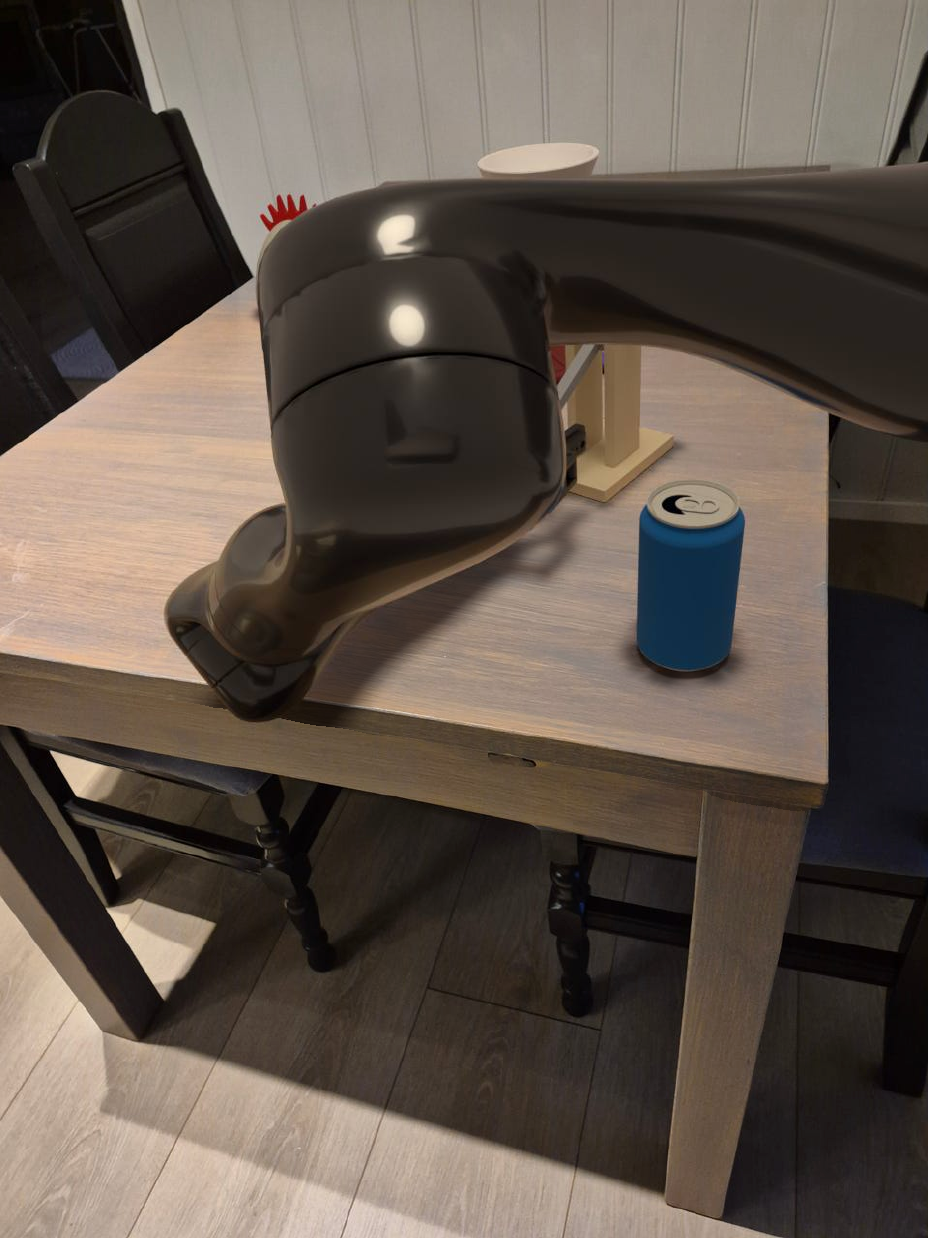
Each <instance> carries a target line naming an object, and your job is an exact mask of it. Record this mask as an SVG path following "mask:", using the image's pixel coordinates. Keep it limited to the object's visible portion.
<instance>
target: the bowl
mask: <svg viewBox="0 0 928 1238" xmlns="http://www.w3.org/2000/svg"><path fill="white" fill-rule="evenodd" d="M599 156H600V151H599V149H598V148H597V147H595V146H593V145H590V144H586V143H579V142H545V143H544V142H543V143H534V144H527V145H520V146H515V147H514V146H513V147H509V148H506V149H502V150H498V151H494V152H491V153H489V154H488V155H485V156H483V157H481V158H480V159H479V160H478V162H477V165H476V166H477V168H478V170H479V172H480V174H481V177H482V179H589V177H590V176H592V174H593V172H594V169H595V166H596V163H597V161H598V158H599Z"/></svg>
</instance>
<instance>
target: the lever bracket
mask: <svg viewBox="0 0 928 1238" xmlns="http://www.w3.org/2000/svg"><path fill="white" fill-rule="evenodd" d="M582 346H583V344H578V345H565V357H566V371H567V369H568V368H569V366H570V364H571V363H572V361H573V360H574V358H575V357H576V355H577V353H578V352H579V350H580V349H581V347H582ZM602 352H604V370H602ZM603 374H604V375H603ZM603 377H604V378H603ZM603 379H604V380H603ZM641 379H642V346H636V345H604V351H600V350H599V351H598V353H597V354H596V356H595V358H594V359H593V361H592V362H591V364H590V366H589V367H588V369H587V370H586V372H585V374H584V375H583V377H582V378H581V380H580V382H579V383H578V385H577V386H576V388H575V389H574V391H573V393H572V394H571V396H570V397H569V399H568V401H567V402H566V412H567V429H568V428H569V427H571V426H572V425H574V424H575V423H577V424H581V425H584V426H585V432H586V450H585V451H584V452H582V453H581V454H580V455H578V456H577V482H576V484H575V485H574V486H573V487H572V488H571V489H570V491H569V492H570V493H573V494H576V495H579V496H583V497H584V498H585V497H586V498H588V499H591V500H592V499H593V500H595V501H598V502H601V503H604V504H605V503H607V502H608V501H609V500H610V499H612V498H613V497H614V496H615V495H616V494H618V493H619V492H620V491H621V490H622V489H623V488H625V487H626V486H627V485H629V484H630V483H631V482H632V481H633V480H635V479H636V478H637V477H638V476H639V475H641V474H642V473H643V472H644V471H645V470H647V469H648V468H649V467H650V466H651V465H653V464H654V463H655V462H656V461H658V460H659V459H660V458H661V457H662V456H664V454H665V453H668V451H670V449H672V448H673V447H674V444H675V443H674V442H675V435H674V434H671V433H667V432H664V431H660V430H655V429H651V428H648V427H643V426H641V387H642V386H641V384H642V383H641V382H642V380H641ZM603 381H604V383H603ZM603 384H604V386H603ZM603 387H604V391H603ZM603 392H604V393H603ZM603 395H604V396H603ZM603 399H604V400H603ZM603 401H604V403H603ZM603 409H604V410H603ZM569 492H568V493H569Z"/></svg>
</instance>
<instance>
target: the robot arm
mask: <svg viewBox="0 0 928 1238" xmlns="http://www.w3.org/2000/svg"><path fill="white" fill-rule="evenodd" d="M307 209H308V210H306V211H304V212H303V213H301V214H300V215H299V216H297V217H296V218H295V219H293V220H292V221H290V222H289V223H288V224H286V225H285V226H284V227H283V228H281V229H280V230H279V232H278V233H277V234H276V235H275V237H274V238H273V239H272V241H271V242H270V243H269V245H268V246H267V248H266V249H265V251H264V253H263V256H262V259H261V262H260V265H259V270H258V284H257V293H258V305H257V311H258V319H259V332H260V333H259V334H260V343H261V344H260V345H261V351H262V358H263V367H264V377H265V378H264V379H265V386H266V387H265V388H266V397H267V407H268V418H269V427H270V446H271V453H272V460H273V463H274V467H275V471H276V475H277V478H278V482H279V485H280V488H281V492H282V495H283V496H282V497H283V498H284V502H280V503H278V504H273V505H270V506H267V507H265V508H263V509H261V510H258V511H257V512H255V513H254V514H252V515H251V516H249V517H248V518H247V519H246V520H245V521H243V522H242V523H241V524H239V526H238V527H237V529H236V530H235V531H234V532H233V533H232V534H231V536H230V537H229V539H228V540H227V542H226V544H225V546H224V548H223V549H222V552H221V554H220V555H219V557H218V560H215V561H213V562H211V563H209V564H207V565H205V566H203V567H201V568H199V569H197V570H196V571H194V572H193V573H191V574H189V575H188V576H187V577H185V578H184V580H182V581H181V582H180V583H179V584H178V585H177V586H176V587H175V588H174V589H173V590H172V592H171V593H170V595H169V596H168V597H167V600H166V602H165V604H164V609H163V620H164V624H165V628H166V631H167V633H168V635H169V637H171V640H172V641H173V643H174V644H175V645H176V647H177V648H178V649H179V650H180V651H181V653H182V654H183V655H184V656H185V657H186V659H187V661H188V662H189V663H190V664H191V665H192V667H193V668H194V669H195V670H196V672H197V673H198V674H199V675H200V677H202V679H203V680H204V681H205V682H206V684H207V685H208V686H209V688H210V689H212V690H213V693H214V694H215V696H217V698H218V699H219V700H220V702H221V703H222V704H223V705H224V706H225V708H226V710H228V711H229V712H230V713H231V714H232V715H233V716H234V717H235V718H237V719H239V720H240V721H243V722H247V723H266V722H271V721H274V720H277V719H279V718H282V717H283V716H285V715H286V714H288V713H289V712H291V711H292V710H293V709H294V708H296V707H297V706H298V705H299V704H300V703H301V702H302V701H303V700H304V699H305V697H306V696H307V695H308V694H309V692H310V691H311V690H312V688H313V687H314V686H315V685H316V683H317V682H318V680H319V678H320V677H321V676H322V674H323V673H324V671H325V670H326V669H327V667H328V665H329V664H330V662H331V661H332V659H333V658H334V656H335V655H336V653H337V652H338V651H339V649H340V648H341V647H342V645H343V644H344V643H345V641H346V640H347V639H348V638H349V637H350V636H351V634H352V633H353V632H354V631H355V630H356V629H357V628H358V627H359V626H360V625H361V624H362V623H363V622H364V621H365V620H366V619H368V618H369V617H370V616H371V615H372V614H374V613H375V612H376V611H377V610H379V609H380V608H381V607H383V606H384V605H387V604H389V603H392V602H394V601H397V600H399V599H401V598H403V597H406V596H409V595H410V594H413V593H415V592H418V591H419V590H422V589H424V588H426V587H428V586H430V585H433V584H435V583H438V582H440V581H442V580H444V579H447V578H449V577H451V576H453V575H456V574H457V573H461V572H462V571H464V570H466V569H469V568H470V567H473V566H475V565H478V564H479V563H481V562H483V561H486V560H487V559H489V558H491V557H492V556H494V555H497V554H498V553H500V552H502V551H503V550H505V549H507V548H508V547H509V546H512V545H513V544H515V543H517V541H519V540H520V539H521V538H523V537H524V536H526V535H527V534H529V533H530V532H531V531H532V530H534V529H535V528H536V527H537V526H538V525H539V524H540V523H541V522H542V521H544V520H545V519H546V517H547V516H548V515H550V514H551V513H552V512H553V511H554V510H555V508H556V507H557V506H558V505H559V504H560V502H561V501H562V500H563V499H564V498H565V497H566V495H567V494H568V493H569V491H570V489H571V488H572V487H573V486H574V485H575V484H576V482H577V456H578V455H580V454H581V453H582V452H584V451H585V450H586V432H585V426H584V425H581V424H577V423H575V424H574V425H572V426H571V427H569V428H568V427H567V429H565V426H564V419H563V412H562V411H563V410H561V406H560V402H559V397H558V389H557V385H558V383H557V382H556V378H555V373H554V367H553V361H552V356H551V350H550V346H556V345H578V344H589V345H636V346H641V347H646V348H653V349H654V348H655V349H660V350H661V349H662V350H667V351H673V352H677V353H682V354H685V355H686V354H687V355H690V356H693V357H697V358H701V359H702V360H703V359H704V360H706V361H709V362H712V363H716V364H718V365H719V366H723V367H725V368H728V369H730V370H733V371H735V372H737V373H739V374H742V375H744V376H747V377H749V378H751V379H754V380H755V381H757V382H759V383H761V384H764V385H766V386H768V387H770V388H772V389H774V390H777V391H779V392H781V393H783V394H785V395H787V396H790V397H792V398H794V399H796V400H799V401H800V402H803V403H805V404H808V405H809V406H812V407H815V408H817V409H819V410H821V411H824V412H826V413H829V414H831V415H834V416H836V417H838V418H841V419H843V420H846V421H849V422H851V423H854V424H857V425H859V426H861V427H863V428H867V429H869V430H872V431H875V432H878V433H881V434H884V435H888V436H890V437H894V438H898V439H902V440H907V441H911V442H912V441H913V442H919V443H927V444H928V161H921V162H915V163H907V164H896V165H886V166H885V165H884V166H876V167H863V168H862V167H861V168H851V169H841V170H840V169H839V170H826V171H816V172H797V173H788V174H785V173H784V174H773V175H759V176H747V177H731V178H682V179H681V178H680V179H679V178H677V179H675V178H674V179H673V178H672V179H671V178H670V179H667V178H665V179H659V178H657V179H655V178H654V179H653V178H651V179H649V178H648V179H647V178H646V179H644V178H643V179H639V178H638V179H637V178H635V179H634V178H633V179H632V178H627V179H626V178H624V179H623V178H599V179H598V178H586V179H484V178H450V179H448V178H447V179H429V180H417V181H407V182H400V183H393V184H387V185H381V186H376V187H370V188H367V189H362V190H357V191H353V192H350V193H346V194H343V195H339V196H335V197H334V198H332V199H329V200H327V201H324V202H322V203H320V204H316V206H314V207H312V206H311V207H310V208H307Z"/></svg>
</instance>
